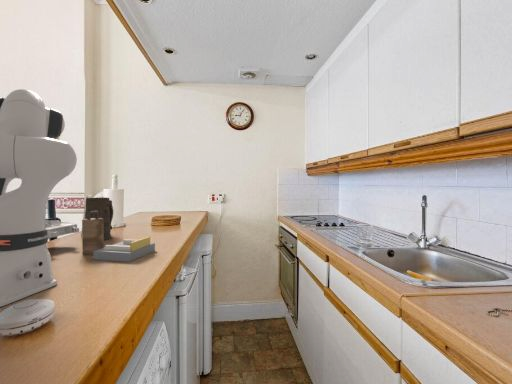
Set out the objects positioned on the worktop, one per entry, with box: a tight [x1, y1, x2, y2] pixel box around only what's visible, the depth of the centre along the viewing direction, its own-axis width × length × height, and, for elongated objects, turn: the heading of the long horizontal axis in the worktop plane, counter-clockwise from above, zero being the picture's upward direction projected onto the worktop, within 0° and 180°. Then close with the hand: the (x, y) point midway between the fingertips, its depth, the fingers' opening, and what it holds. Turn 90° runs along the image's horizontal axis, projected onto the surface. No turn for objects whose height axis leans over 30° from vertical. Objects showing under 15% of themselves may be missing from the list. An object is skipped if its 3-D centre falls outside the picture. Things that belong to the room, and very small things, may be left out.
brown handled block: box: [81, 211, 105, 256], centre depth 108 cm, size 5×5×16 cm
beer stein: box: [84, 197, 114, 241], centre depth 136 cm, size 15×11×20 cm
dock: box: [93, 236, 156, 263], centre depth 106 cm, size 14×16×6 cm
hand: (68, 232), depth 110 cm, fingers open, 8 cm apart
